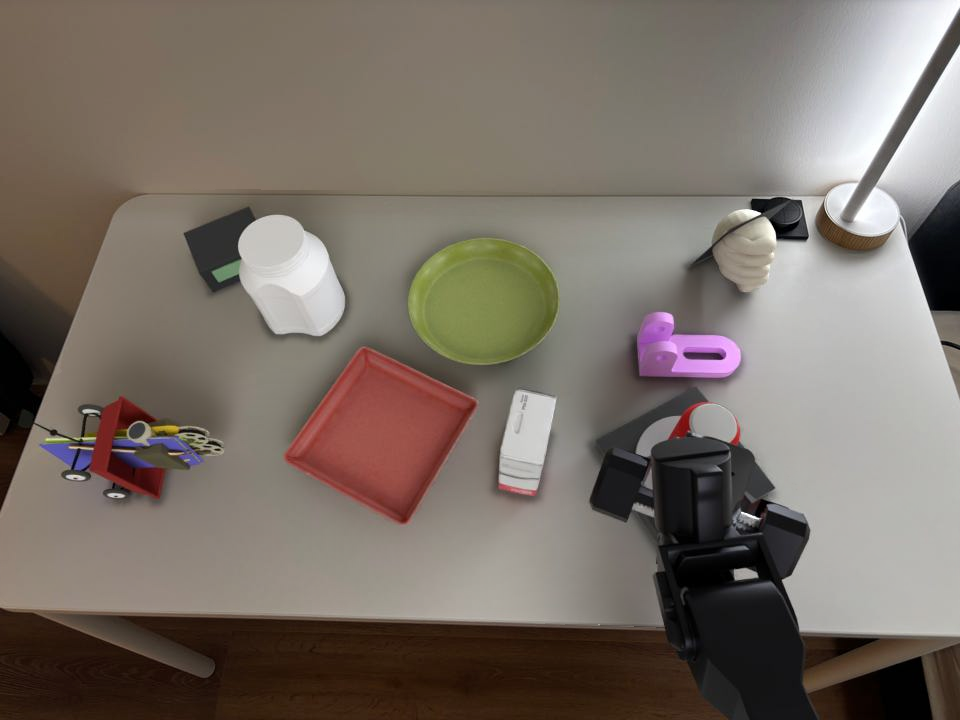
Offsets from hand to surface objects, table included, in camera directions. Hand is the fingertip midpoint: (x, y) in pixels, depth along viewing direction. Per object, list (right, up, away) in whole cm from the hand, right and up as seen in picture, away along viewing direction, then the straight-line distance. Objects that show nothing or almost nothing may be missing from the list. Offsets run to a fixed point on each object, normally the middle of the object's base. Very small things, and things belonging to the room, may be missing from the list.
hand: (693, 475), depth 68 cm
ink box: (-17, -1, +13) cm, 21 cm away
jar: (-47, +20, +25) cm, 57 cm away
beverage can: (+2, 0, +9) cm, 9 cm away
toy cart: (-63, -1, +15) cm, 65 cm away
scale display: (-59, +27, +29) cm, 71 cm away
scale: (+2, -1, +12) cm, 12 cm away
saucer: (-22, +19, +24) cm, 37 cm away
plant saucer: (-34, +2, +15) cm, 38 cm away
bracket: (+5, +12, +19) cm, 23 cm away
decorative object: (+14, +24, +25) cm, 37 cm away
